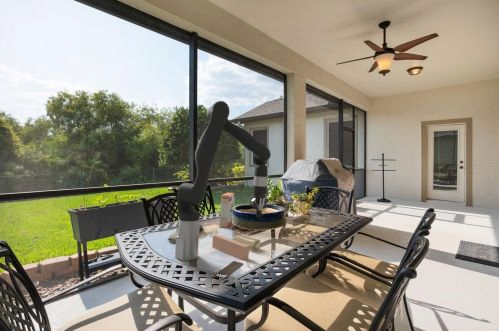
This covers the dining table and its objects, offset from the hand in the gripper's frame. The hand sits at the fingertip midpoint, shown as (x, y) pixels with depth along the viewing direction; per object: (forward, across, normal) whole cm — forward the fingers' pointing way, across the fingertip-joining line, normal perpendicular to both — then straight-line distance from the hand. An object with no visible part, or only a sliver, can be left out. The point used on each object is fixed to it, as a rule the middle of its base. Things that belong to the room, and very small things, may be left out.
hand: (258, 217), depth 148 cm
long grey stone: (+15, +19, -37) cm, 44 cm away
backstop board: (+14, +21, 0) cm, 25 cm away
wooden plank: (+15, +34, +14) cm, 40 cm away
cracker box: (+15, -13, -38) cm, 43 cm away
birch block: (+15, +8, 0) cm, 17 cm away
